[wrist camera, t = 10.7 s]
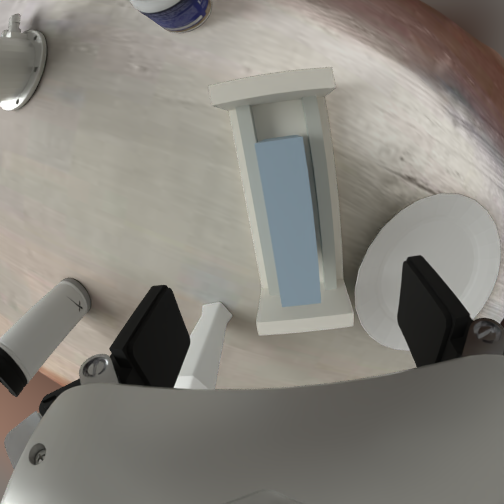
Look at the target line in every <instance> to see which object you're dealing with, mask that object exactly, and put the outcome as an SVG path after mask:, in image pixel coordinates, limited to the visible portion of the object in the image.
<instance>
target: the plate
mask: <svg viewBox="0 0 504 504" xmlns="http://www.w3.org/2000/svg"><path fill="white" fill-rule="evenodd" d="M417 255H421V256H423V257H424V259H425V260H426V261H427V262H428V263H429V264H430V265H431V267H432V268H433V269H434V270H435V271H436V272H437V273H438V275H439V276H440V277H441V278H442V279H443V281H444V282H445V283H446V284H447V285H448V287H449V288H450V289H451V290H452V292H453V293H454V294H455V295H456V297H457V298H458V299H459V300H460V302H461V303H462V304H463V306H464V307H465V308H466V309H467V311H468V312H469V313H470V317H471V318H472V320H473V319H474V318H475V317H476V315H477V314H478V313H479V312H480V310H481V309H482V308H483V306H484V305H485V303H486V301H487V300H488V298H489V296H490V294H491V293H492V290H493V288H494V285H495V282H496V280H497V277H498V273H499V267H500V261H501V246H500V238H499V234H498V231H497V227H496V224H495V222H494V221H493V219H492V217H491V216H490V214H489V213H488V211H487V210H486V209H485V208H484V207H483V206H481V205H480V204H479V203H478V202H477V201H476V200H474V199H471V198H469V197H466V196H463V195H461V194H448V193H440V194H436V195H433V196H429V197H426V198H422V199H420V200H418V201H416V202H415V203H413V204H411V205H409V206H408V207H406V208H404V209H403V210H401V211H400V212H399V213H398V214H396V215H395V216H394V217H393V218H392V219H391V220H390V221H389V222H388V223H387V224H386V225H385V226H384V227H383V228H382V229H381V230H380V232H379V233H378V235H377V236H376V238H375V239H374V240H373V242H372V243H371V245H370V246H369V247H368V249H367V252H366V254H365V256H364V259H363V261H362V263H361V265H360V268H359V270H358V275H357V280H356V285H355V290H354V292H355V309H356V312H357V315H358V318H359V321H360V323H361V325H362V327H363V328H364V329H365V331H366V332H367V333H368V335H369V336H370V337H371V338H373V339H374V340H375V341H377V342H378V343H380V344H381V345H383V346H386V347H389V348H393V349H396V350H409V351H410V349H409V347H408V345H407V343H406V340H405V338H404V336H403V334H402V332H401V329H400V327H399V325H398V322H397V314H398V306H399V298H400V289H401V278H402V266H403V262H404V261H406V260H407V258H408V257H410V256H417Z"/></svg>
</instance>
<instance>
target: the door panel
mask: <svg viewBox="0 0 504 504" xmlns="http://www.w3.org/2000/svg"><path fill="white" fill-rule="evenodd" d="M254 145H255V150H256V156H257V161H258V167H259V172H260V178H261V183H262V189H263V195H264V200H265V206H266V212H267V218H268V224H269V230H270V236H271V242H272V248H273V254H274V260H275V266H276V272H277V279H278V285H279V291H280V298H281V304H282V307H289V306H299V305H308V304H317V303H321V292H320V278H319V266H318V255H317V244H316V234H315V225H314V216H313V207H312V199H311V191H310V184H309V176H308V169H307V162H306V156H305V149H304V143H303V137H302V136H299V135H291V136H283V137H276V138H270V139H264V140H262V141H259V142H257V143H255V144H254Z"/></svg>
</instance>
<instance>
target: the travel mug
mask: <svg viewBox="0 0 504 504" xmlns="http://www.w3.org/2000/svg"><path fill="white" fill-rule="evenodd" d="M90 307H91V302H90V298H89V295H88V293H87V291H86V290H85V288H84V287H83V286H82V285H81V284H80V283H79V282H78V281H76V280H74V279H72V278H65V279H63V280H62V281H61V282H60V283H59V284H58V285H56V286H55V287H54V288H53V289H52V290H51V291H49V292H48V293H47V294H46V295H45V296H44V297H43V298H42V299H41V300H39V301H38V302H37V303H36V304H35V305H34V306H33V307H32V308H31V309H30V310H29V311H28V312H26V313H25V314H24V315H23V316H22V317H21V318H20V319H19V320H18V321H17V322H16V323H15V324H14V325H13V326H12V327H11V328H10V329H9V330H8V331H7V332H6V333H5V334H4V335H3V336H2V337H1V338H0V382H1V383H2V384H3V385H4V386H5V387H6V388H7V389H8V390H9V392H10V393H11V394H12V395H14V396H15V397H17V396H18V395H19V394H20V392H21V391H22V390H23V387H25V386H26V384H28V382H29V380H31V379H32V377H33V376H34V375H35V374H36V372H37V371H38V370H39V368H40V367H41V366H42V365H43V363H44V362H45V361H46V360H47V359H48V357H49V356H50V355H51V354H52V352H53V351H54V350H55V349H56V348H57V346H58V345H59V344H60V343H61V342H62V341H63V339H64V338H65V337H66V336H67V335H68V334H69V332H70V331H71V330H72V329H73V328H74V327H75V326H76V324H77V323H78V322H79V321H80V320H81V319H82V318H83V316H84V315H85V314H86V313H87V312H88V311H89V310H90Z"/></svg>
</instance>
